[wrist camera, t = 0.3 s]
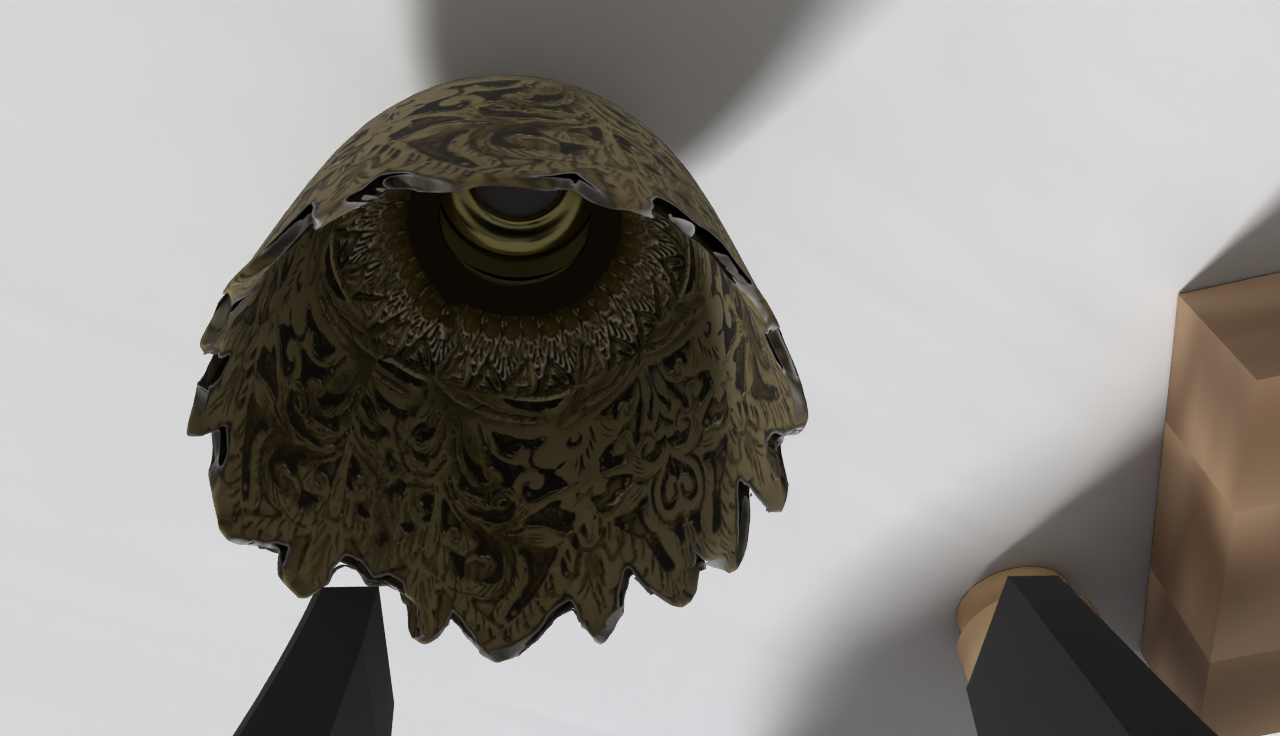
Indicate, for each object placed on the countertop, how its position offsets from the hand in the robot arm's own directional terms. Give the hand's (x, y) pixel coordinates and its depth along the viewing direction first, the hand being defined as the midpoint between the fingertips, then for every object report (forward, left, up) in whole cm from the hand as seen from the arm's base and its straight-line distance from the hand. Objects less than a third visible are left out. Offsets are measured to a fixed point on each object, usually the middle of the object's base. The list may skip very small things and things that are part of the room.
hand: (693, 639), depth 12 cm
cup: (+2, +2, -10) cm, 10 cm away
